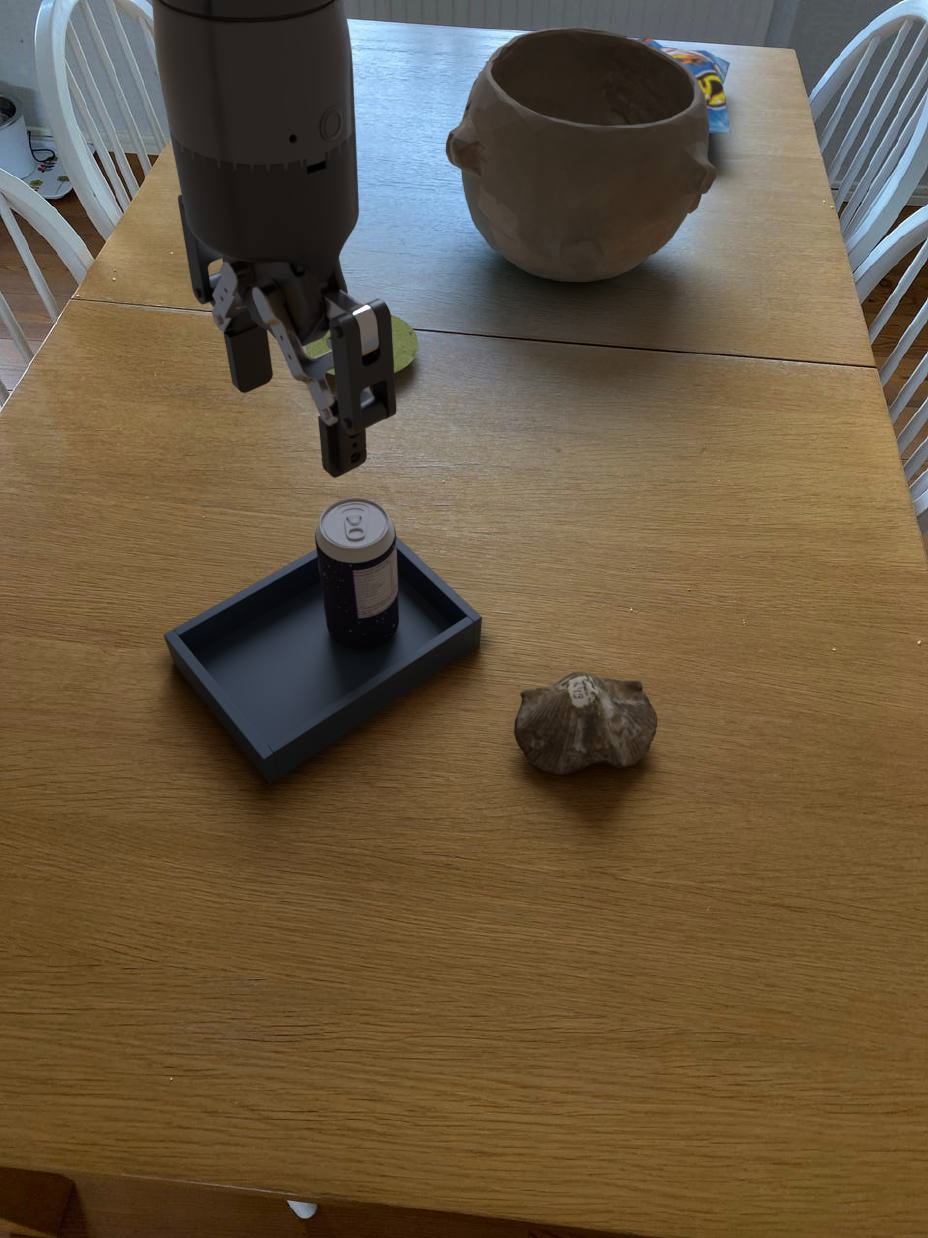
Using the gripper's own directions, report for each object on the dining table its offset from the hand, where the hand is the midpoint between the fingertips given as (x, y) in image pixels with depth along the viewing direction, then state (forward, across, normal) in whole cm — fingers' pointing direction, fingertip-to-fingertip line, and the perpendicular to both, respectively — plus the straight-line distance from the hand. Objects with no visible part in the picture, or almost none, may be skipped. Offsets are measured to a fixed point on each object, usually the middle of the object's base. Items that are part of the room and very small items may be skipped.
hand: (297, 425), depth 52 cm
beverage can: (+26, -4, +6) cm, 27 cm away
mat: (+26, -32, +27) cm, 49 cm away
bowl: (+25, -32, +57) cm, 70 cm away
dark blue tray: (+27, -4, +3) cm, 27 cm away
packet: (+25, -48, +90) cm, 105 cm away
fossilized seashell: (+27, +14, +12) cm, 33 cm away
